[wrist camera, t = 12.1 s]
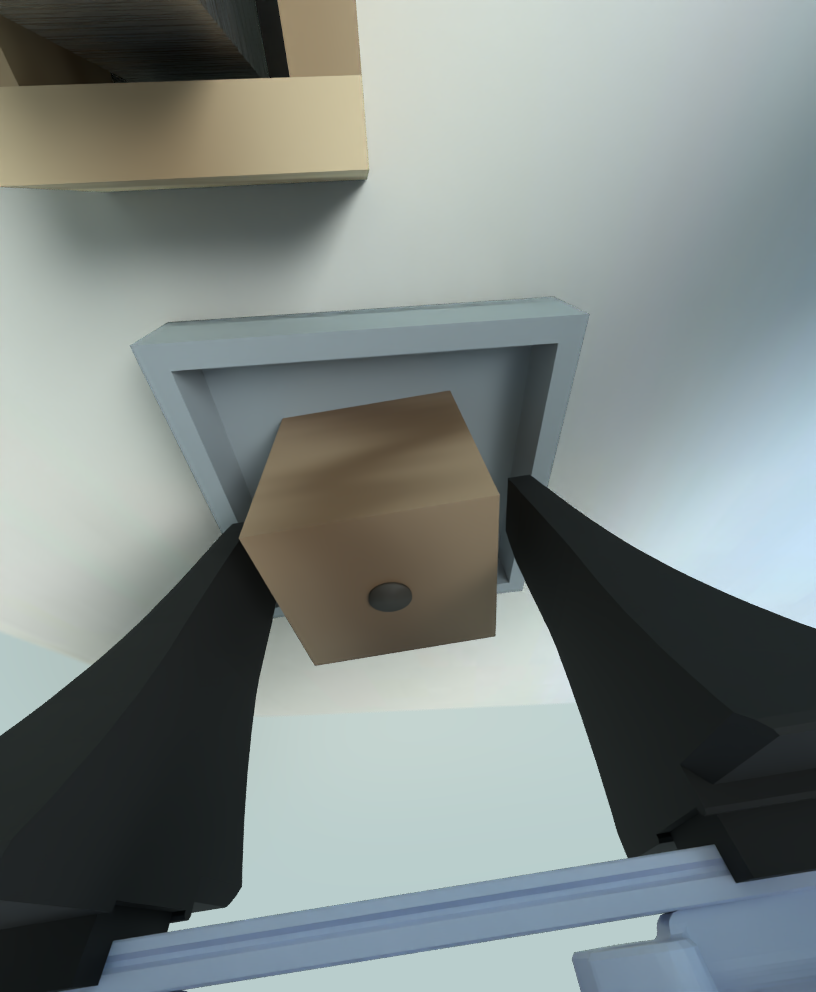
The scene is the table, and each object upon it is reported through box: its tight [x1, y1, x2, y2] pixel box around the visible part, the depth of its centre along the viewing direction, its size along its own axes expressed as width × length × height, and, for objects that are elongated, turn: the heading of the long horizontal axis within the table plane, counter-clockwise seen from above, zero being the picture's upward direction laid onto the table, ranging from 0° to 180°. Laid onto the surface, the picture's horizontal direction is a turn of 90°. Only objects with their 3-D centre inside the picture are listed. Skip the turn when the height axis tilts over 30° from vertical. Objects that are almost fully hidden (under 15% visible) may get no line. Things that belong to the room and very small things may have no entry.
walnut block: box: [239, 390, 500, 666], centre depth 10 cm, size 5×5×5 cm
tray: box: [130, 297, 589, 618], centre depth 12 cm, size 10×10×2 cm
